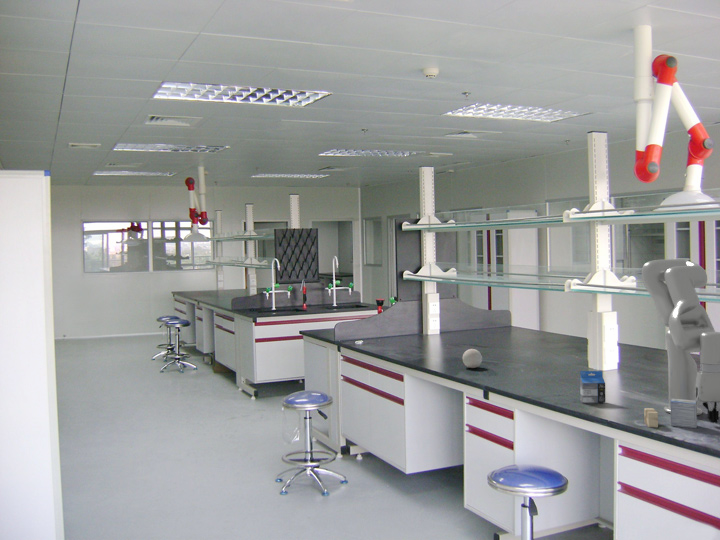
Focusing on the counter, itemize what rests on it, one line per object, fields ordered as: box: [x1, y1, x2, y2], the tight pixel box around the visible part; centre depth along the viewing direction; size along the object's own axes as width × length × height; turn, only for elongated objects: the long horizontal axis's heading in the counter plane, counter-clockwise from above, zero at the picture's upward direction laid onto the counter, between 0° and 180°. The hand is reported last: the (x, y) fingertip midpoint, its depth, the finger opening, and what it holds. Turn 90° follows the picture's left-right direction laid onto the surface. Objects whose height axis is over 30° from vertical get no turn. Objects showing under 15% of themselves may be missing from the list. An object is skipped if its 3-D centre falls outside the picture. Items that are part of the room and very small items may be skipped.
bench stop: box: [643, 407, 659, 428], centre depth 222 cm, size 6×3×5 cm, turn 169°
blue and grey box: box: [579, 370, 606, 404], centre depth 255 cm, size 9×4×12 cm, turn 84°
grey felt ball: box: [462, 348, 483, 369], centre depth 335 cm, size 10×10×10 cm
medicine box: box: [669, 399, 698, 429], centre depth 220 cm, size 8×4×9 cm, turn 59°
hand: (713, 421), depth 219 cm, fingers closed
